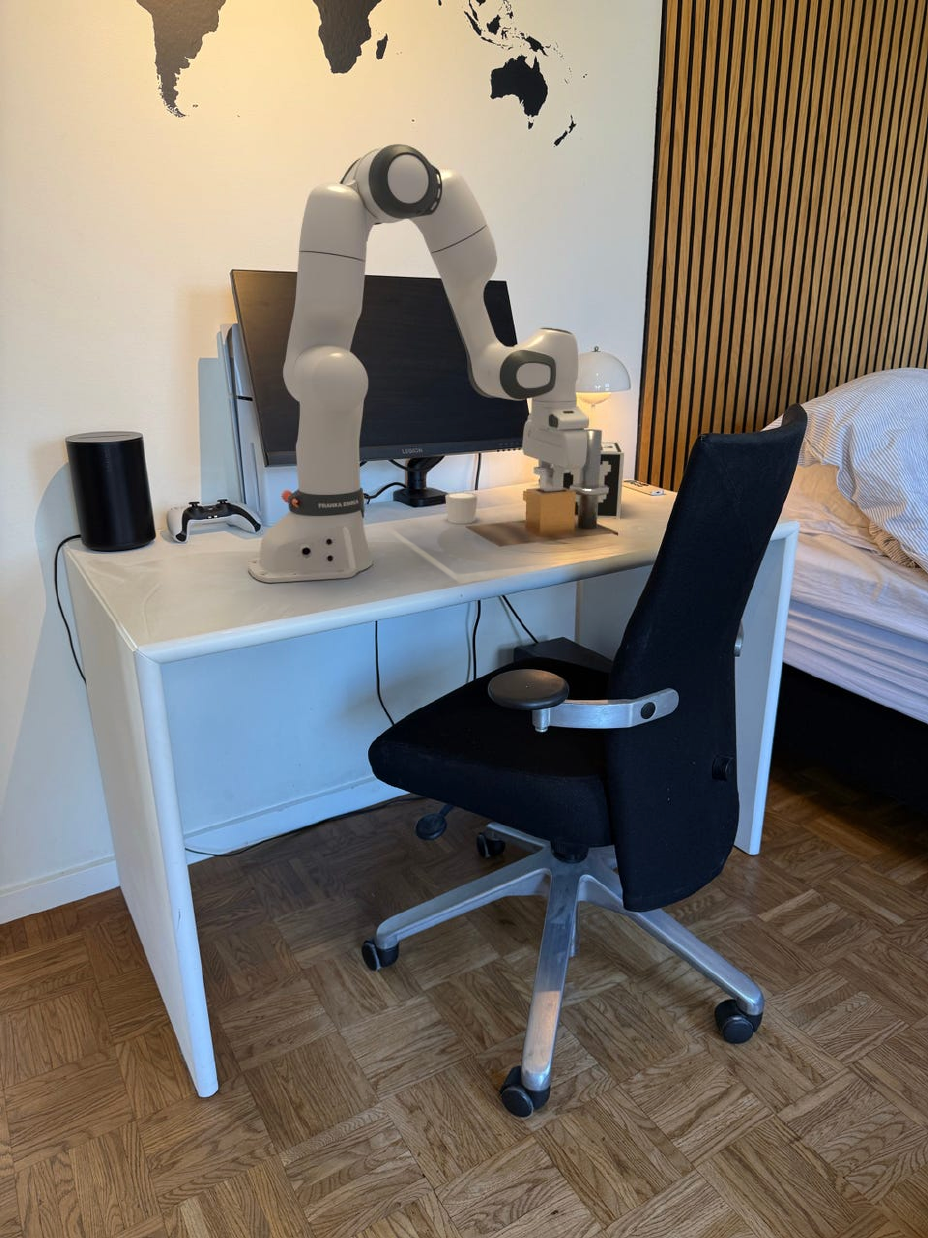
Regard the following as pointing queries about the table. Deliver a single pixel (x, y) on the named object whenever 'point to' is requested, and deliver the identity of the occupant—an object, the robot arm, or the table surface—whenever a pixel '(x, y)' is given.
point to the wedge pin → (548, 479)
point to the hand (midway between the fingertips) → (551, 484)
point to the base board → (529, 533)
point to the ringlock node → (568, 498)
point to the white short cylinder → (461, 507)
